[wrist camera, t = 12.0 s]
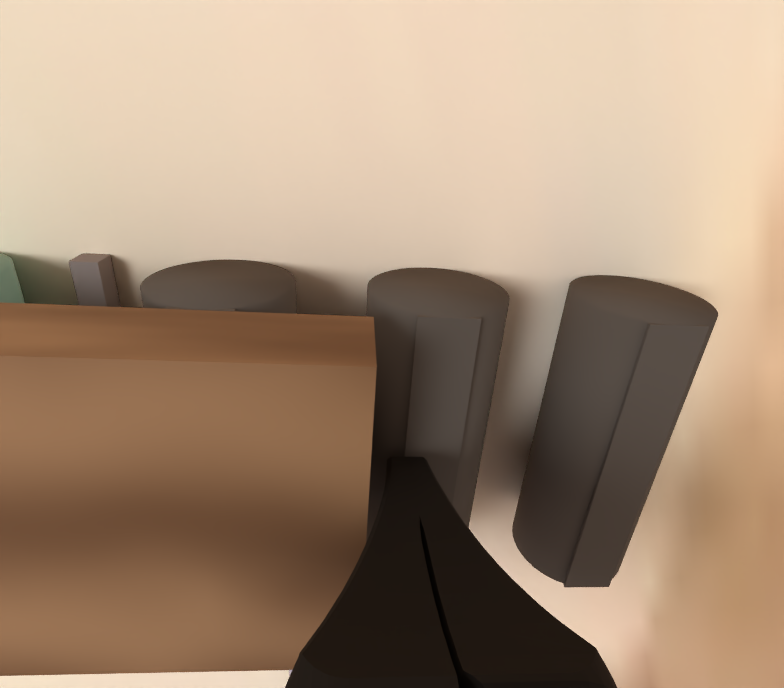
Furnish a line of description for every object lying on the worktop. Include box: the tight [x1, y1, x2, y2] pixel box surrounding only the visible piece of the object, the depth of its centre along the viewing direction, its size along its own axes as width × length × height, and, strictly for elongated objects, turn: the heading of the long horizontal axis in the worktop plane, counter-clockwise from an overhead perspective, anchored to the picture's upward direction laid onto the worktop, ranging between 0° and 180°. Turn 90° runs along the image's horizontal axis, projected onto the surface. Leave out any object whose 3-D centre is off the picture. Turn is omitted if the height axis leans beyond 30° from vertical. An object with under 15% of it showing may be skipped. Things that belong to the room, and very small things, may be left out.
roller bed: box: [69, 254, 718, 587], centre depth 16 cm, size 10×24×4 cm, turn 86°
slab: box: [0, 302, 377, 676], centre depth 12 cm, size 10×14×2 cm
